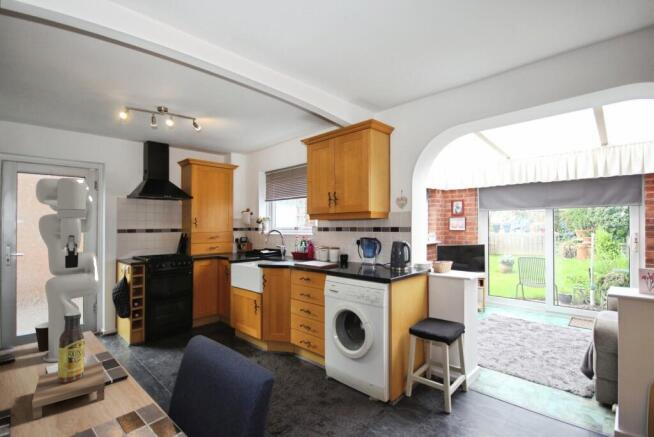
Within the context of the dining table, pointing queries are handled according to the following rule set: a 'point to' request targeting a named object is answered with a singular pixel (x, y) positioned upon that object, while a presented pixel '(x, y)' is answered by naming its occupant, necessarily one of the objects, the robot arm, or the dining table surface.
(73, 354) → the sauce bottle
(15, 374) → the dining table surface
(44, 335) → the coffee mug
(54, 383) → the walnut shelf
